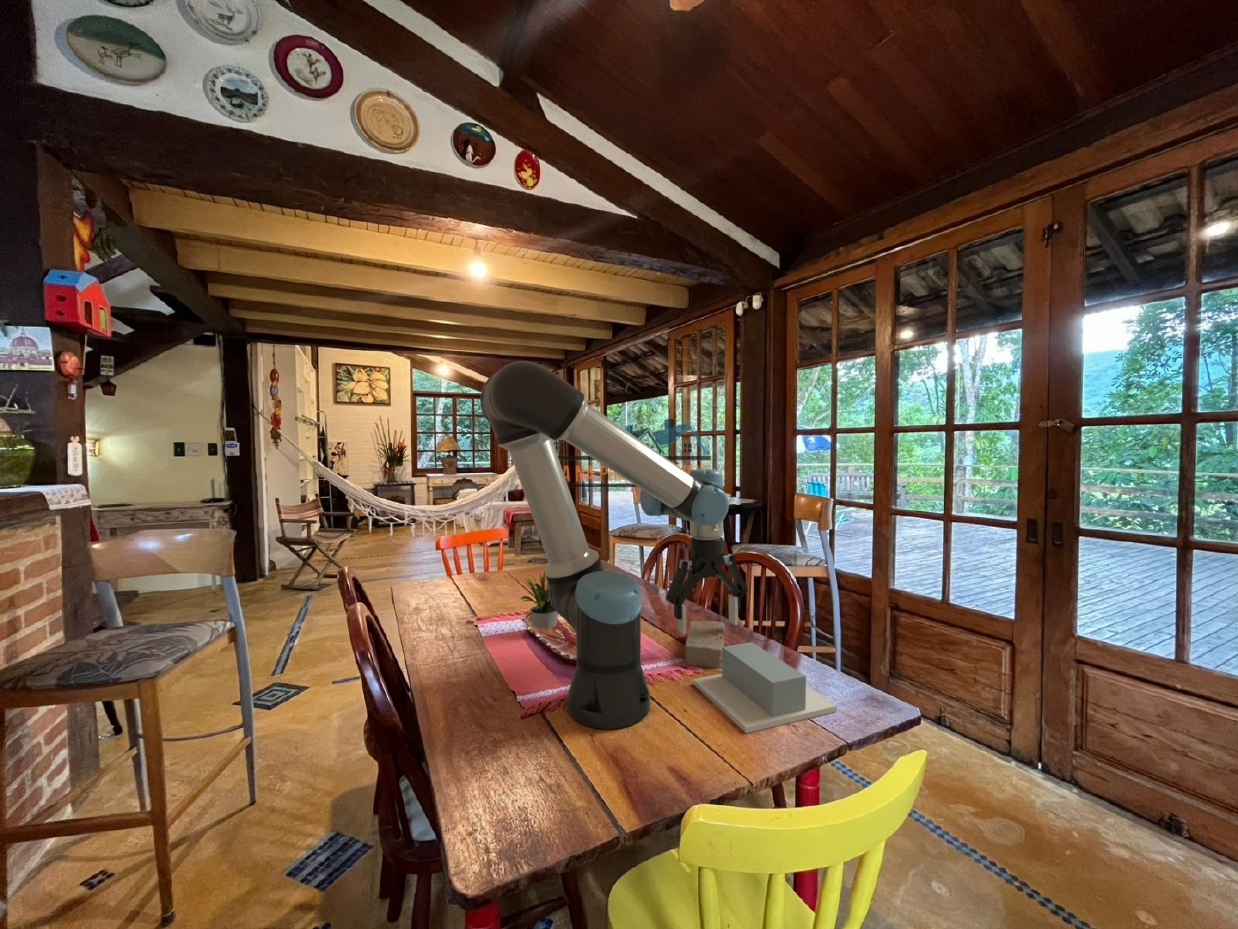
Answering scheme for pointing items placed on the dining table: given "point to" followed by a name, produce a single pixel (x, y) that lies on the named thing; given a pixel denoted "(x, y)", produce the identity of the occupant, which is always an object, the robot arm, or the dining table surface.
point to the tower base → (751, 709)
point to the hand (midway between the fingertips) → (708, 627)
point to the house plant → (541, 605)
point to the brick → (705, 644)
